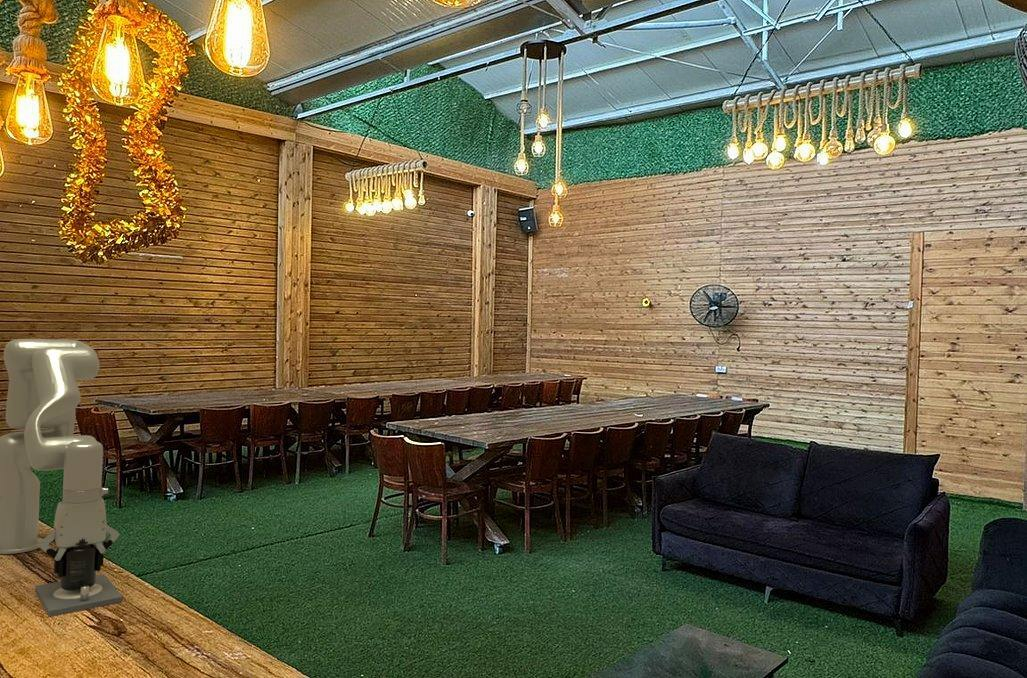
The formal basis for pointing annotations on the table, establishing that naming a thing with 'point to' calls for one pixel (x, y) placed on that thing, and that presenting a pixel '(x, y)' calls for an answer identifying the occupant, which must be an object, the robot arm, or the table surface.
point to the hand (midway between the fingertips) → (78, 572)
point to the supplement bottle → (79, 566)
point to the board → (77, 596)
